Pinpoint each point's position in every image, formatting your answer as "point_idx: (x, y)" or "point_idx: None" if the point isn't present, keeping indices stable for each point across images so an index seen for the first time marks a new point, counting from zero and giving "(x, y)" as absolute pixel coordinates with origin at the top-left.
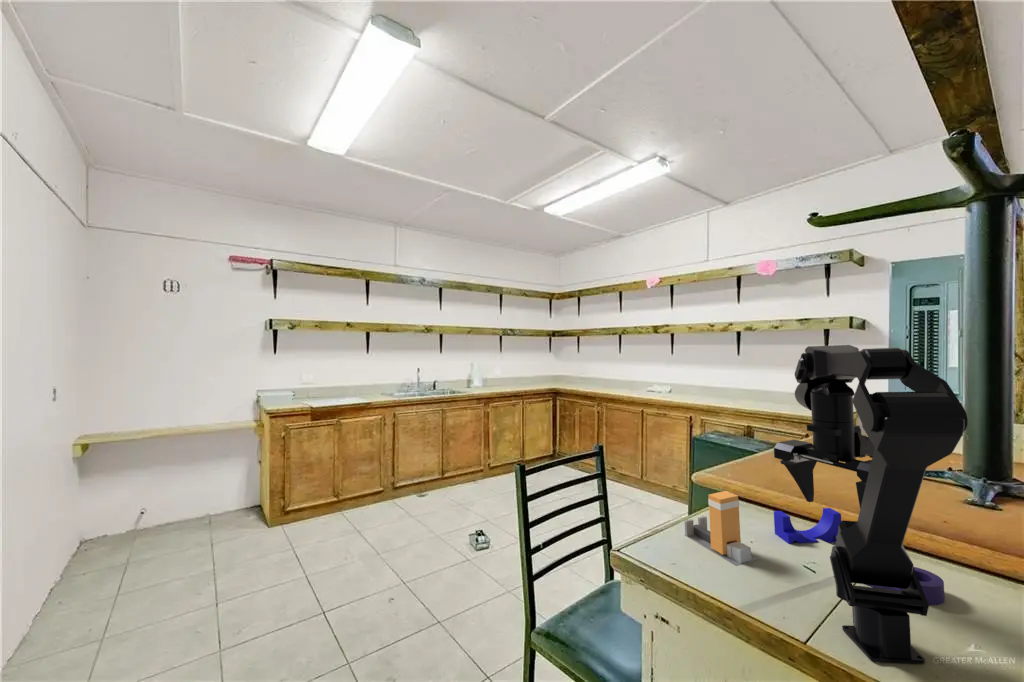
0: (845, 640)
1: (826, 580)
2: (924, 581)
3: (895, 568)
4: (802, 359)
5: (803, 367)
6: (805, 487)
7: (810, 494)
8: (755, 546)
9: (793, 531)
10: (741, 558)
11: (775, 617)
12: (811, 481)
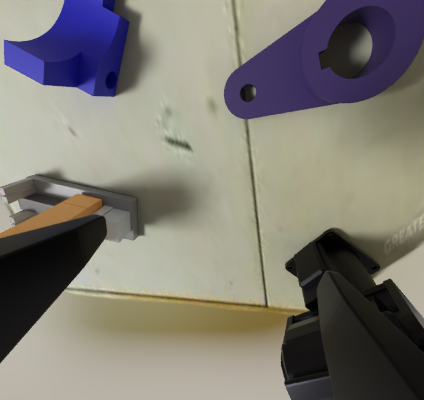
0: (294, 278)
1: (214, 159)
2: (365, 15)
3: None
4: None
5: None
6: (52, 293)
7: (82, 246)
8: (88, 143)
9: (81, 62)
10: (126, 233)
11: (225, 288)
12: (9, 270)
